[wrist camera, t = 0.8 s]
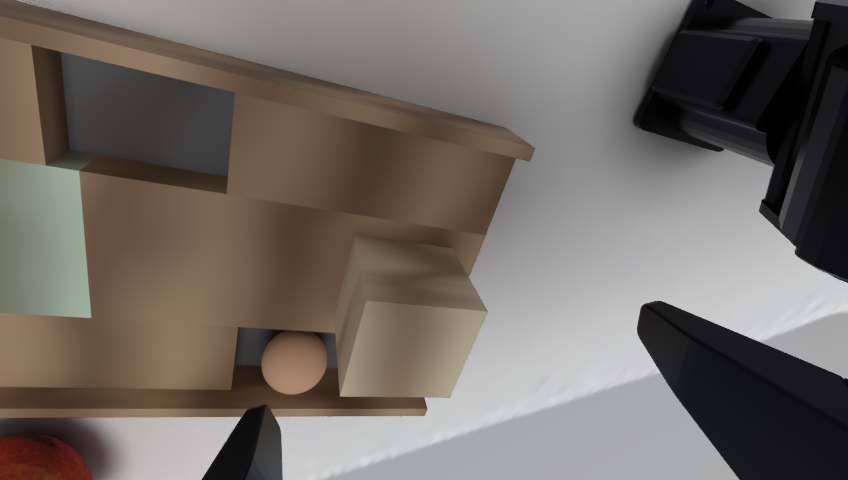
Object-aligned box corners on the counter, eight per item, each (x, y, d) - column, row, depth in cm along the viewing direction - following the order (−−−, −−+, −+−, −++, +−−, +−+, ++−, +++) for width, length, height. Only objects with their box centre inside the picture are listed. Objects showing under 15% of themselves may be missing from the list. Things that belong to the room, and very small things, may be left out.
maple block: (452, 248, 21) (487, 311, 17) (424, 324, 23) (449, 397, 19) (354, 234, 19) (366, 300, 15) (334, 317, 22) (339, 396, 17)
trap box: (505, 128, 21) (543, 154, 17) (413, 375, 28) (427, 427, 25) (-147, -41, 13) (-308, -54, 10) (-38, 362, 20) (-107, 435, 17)
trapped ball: (331, 318, 24) (334, 362, 21) (321, 361, 25) (322, 408, 22) (268, 313, 23) (261, 359, 20) (261, 359, 24) (254, 408, 21)
